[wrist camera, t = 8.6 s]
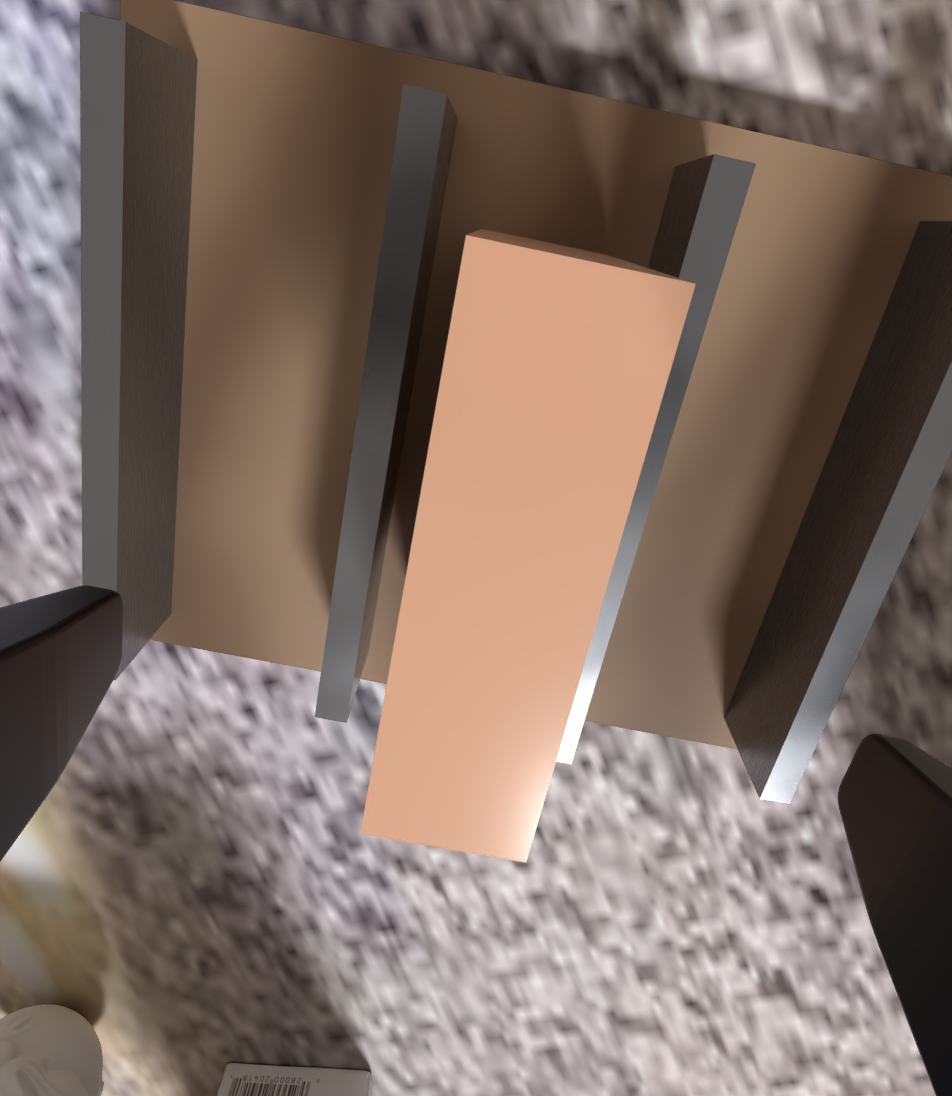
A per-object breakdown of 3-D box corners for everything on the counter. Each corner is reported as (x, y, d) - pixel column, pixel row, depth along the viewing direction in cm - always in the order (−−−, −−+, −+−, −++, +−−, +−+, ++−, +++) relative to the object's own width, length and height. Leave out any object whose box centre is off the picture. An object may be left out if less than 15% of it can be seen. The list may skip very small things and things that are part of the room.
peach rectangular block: (608, 255, 18) (695, 283, 10) (517, 621, 22) (525, 862, 14) (483, 228, 18) (465, 234, 10) (414, 601, 22) (360, 834, 14)
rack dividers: (953, 228, 18) (1053, 230, 14) (749, 723, 23) (789, 804, 20) (161, 51, 17) (80, 12, 14) (143, 608, 22) (82, 674, 19)
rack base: (984, 191, 18) (1010, 190, 17) (757, 734, 24) (767, 754, 24) (141, 0, 17) (120, -12, 16) (127, 616, 24) (112, 632, 23)
